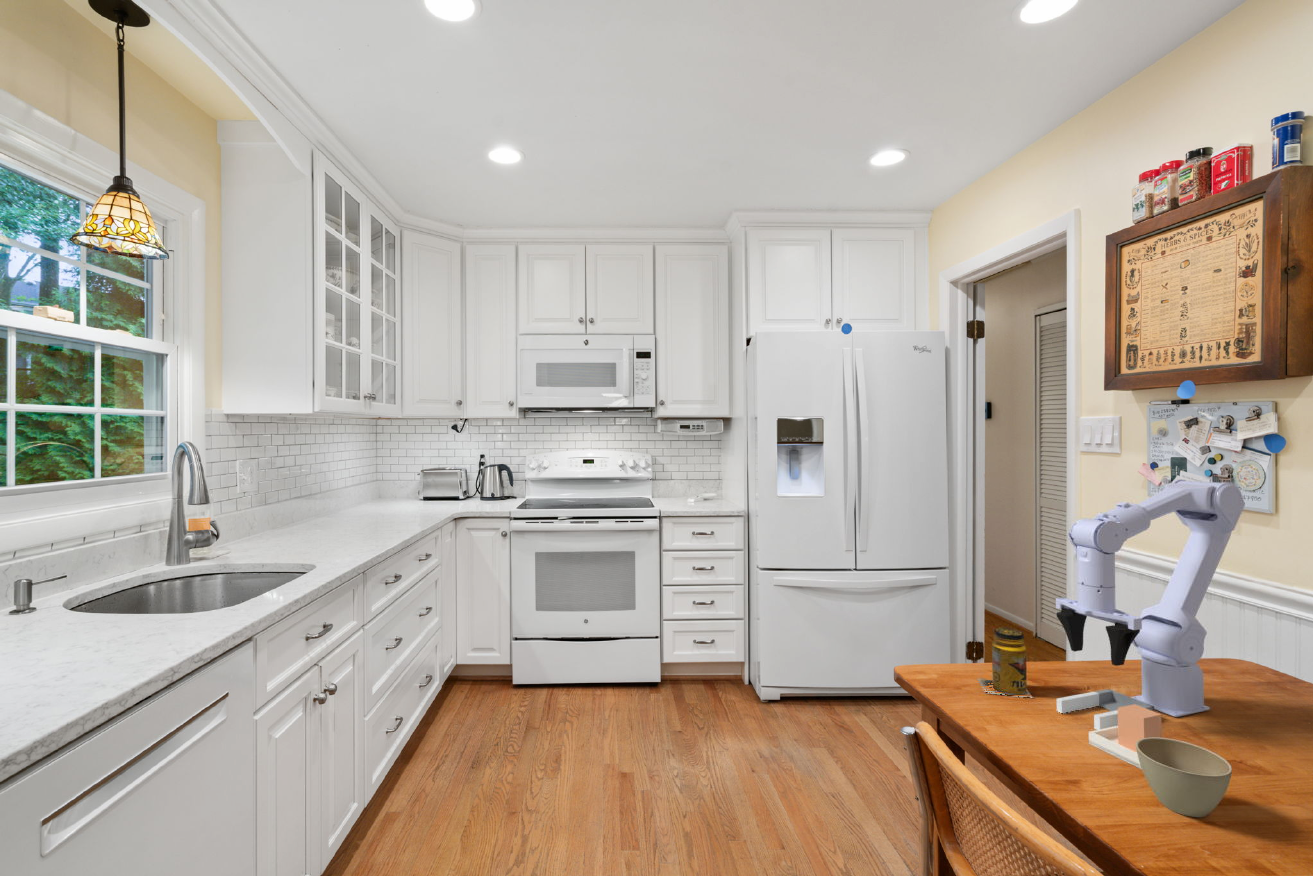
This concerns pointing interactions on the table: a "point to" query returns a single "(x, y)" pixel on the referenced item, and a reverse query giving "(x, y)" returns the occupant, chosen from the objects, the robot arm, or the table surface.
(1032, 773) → the table surface
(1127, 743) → the block
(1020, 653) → the condiment
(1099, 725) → the channel
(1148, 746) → the beige bowl
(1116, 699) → the grey u-shaped piece
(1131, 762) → the tray
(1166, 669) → the robot arm
